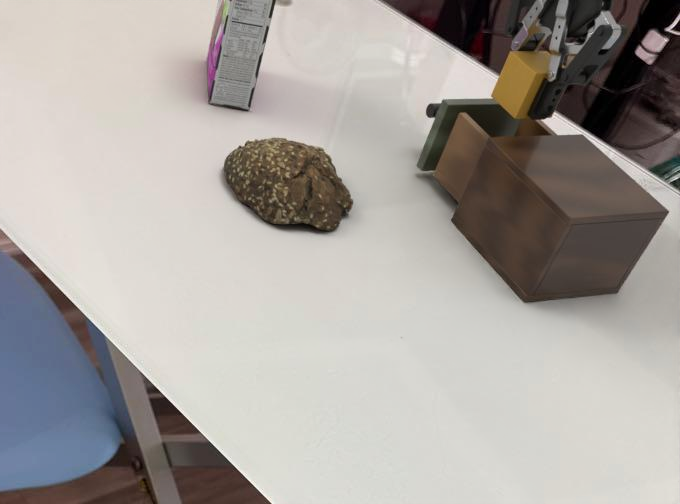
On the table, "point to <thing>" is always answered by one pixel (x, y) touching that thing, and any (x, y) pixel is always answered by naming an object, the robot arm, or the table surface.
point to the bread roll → (288, 182)
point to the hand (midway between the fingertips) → (522, 103)
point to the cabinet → (556, 216)
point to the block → (521, 81)
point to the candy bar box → (237, 50)
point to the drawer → (467, 138)
